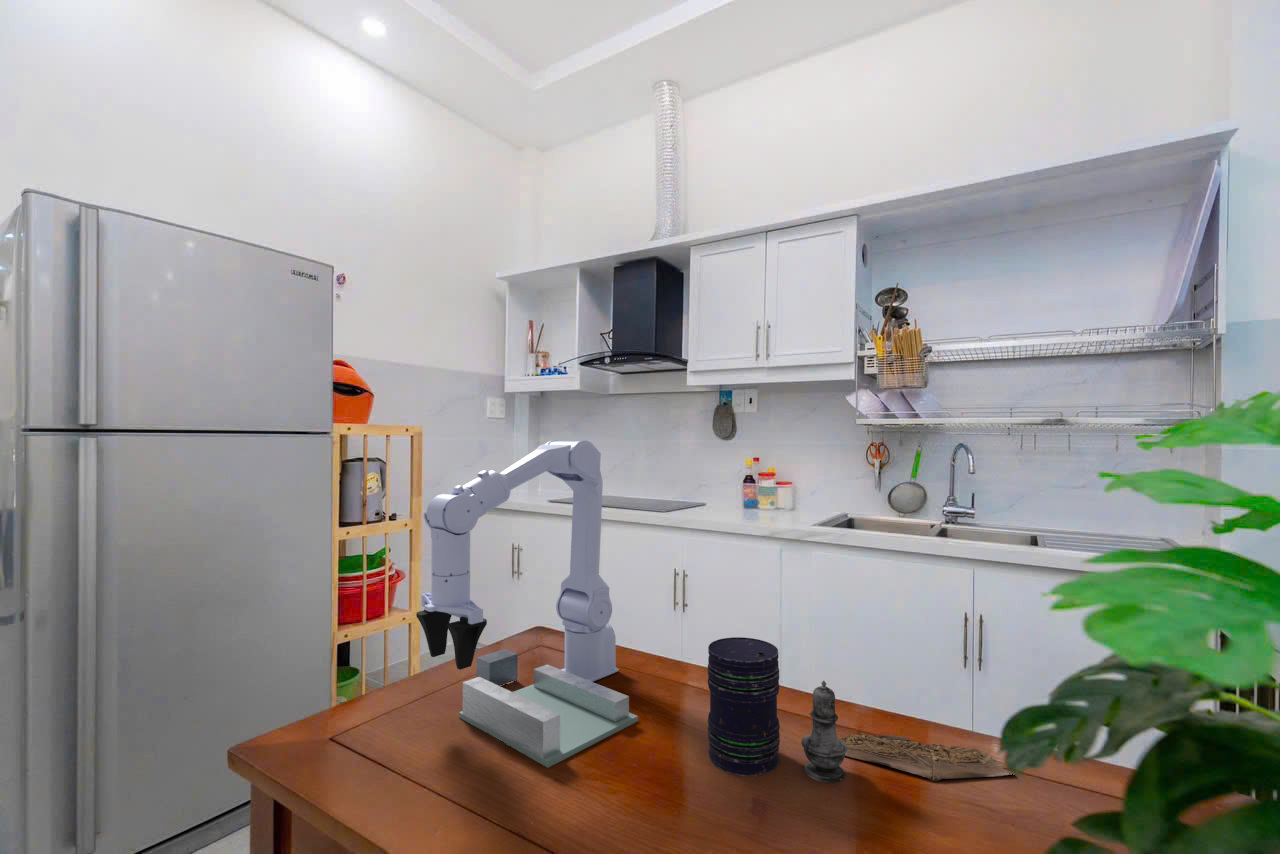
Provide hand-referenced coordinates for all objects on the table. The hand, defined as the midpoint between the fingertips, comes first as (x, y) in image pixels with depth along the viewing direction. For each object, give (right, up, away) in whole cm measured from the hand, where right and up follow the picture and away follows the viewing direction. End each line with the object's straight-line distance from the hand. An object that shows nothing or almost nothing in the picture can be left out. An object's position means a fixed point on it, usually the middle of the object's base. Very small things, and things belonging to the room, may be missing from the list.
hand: (450, 661), depth 93 cm
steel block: (+3, -10, +17) cm, 20 cm away
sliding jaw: (+19, -9, +7) cm, 22 cm away
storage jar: (+43, -10, -9) cm, 46 cm away
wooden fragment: (+66, -10, -9) cm, 68 cm away
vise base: (+15, -10, +2) cm, 18 cm away
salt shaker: (+54, -10, -13) cm, 56 cm away
